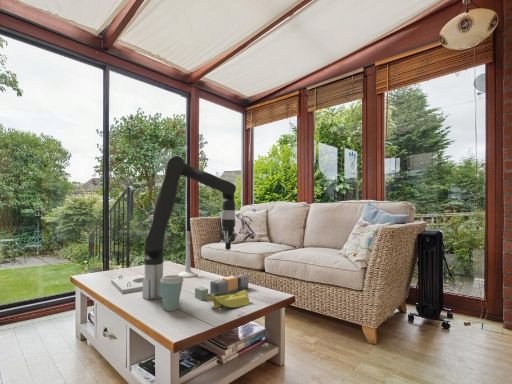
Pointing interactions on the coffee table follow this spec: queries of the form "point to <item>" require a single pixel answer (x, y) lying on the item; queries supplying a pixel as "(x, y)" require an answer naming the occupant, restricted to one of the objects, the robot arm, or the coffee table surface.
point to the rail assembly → (222, 286)
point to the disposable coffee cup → (171, 291)
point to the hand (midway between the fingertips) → (228, 249)
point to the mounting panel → (129, 283)
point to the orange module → (231, 282)
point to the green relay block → (201, 293)
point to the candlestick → (188, 261)
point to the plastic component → (230, 299)
